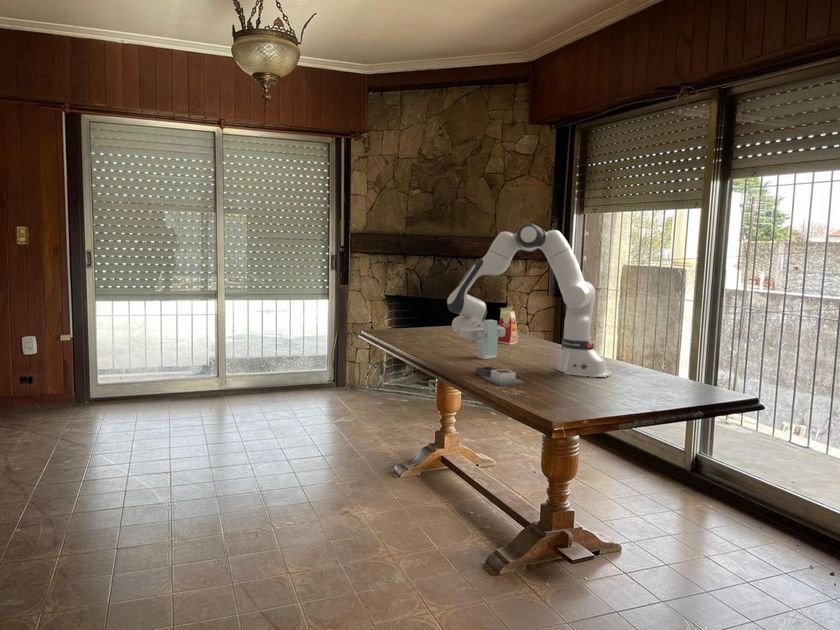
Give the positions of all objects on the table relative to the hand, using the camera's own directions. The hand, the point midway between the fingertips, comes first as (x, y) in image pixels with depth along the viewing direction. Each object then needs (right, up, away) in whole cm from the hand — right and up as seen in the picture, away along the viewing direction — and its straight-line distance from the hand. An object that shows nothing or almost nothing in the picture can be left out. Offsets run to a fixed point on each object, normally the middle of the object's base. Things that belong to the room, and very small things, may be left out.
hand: (491, 335), depth 261 cm
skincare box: (+2, -12, +39) cm, 41 cm away
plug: (-1, -8, +2) cm, 8 cm away
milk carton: (+17, -7, +83) cm, 85 cm away
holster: (-1, -16, +3) cm, 17 cm away
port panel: (+4, -18, -7) cm, 20 cm away
